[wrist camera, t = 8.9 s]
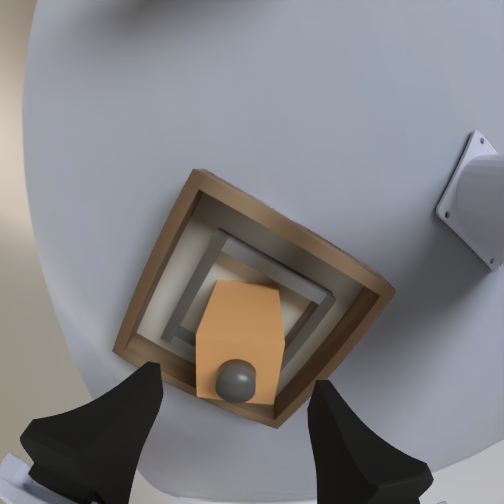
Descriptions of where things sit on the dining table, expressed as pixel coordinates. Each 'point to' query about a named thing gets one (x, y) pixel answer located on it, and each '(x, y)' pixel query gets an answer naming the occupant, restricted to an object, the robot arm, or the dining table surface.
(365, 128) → the dining table surface
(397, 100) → the dining table surface
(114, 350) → the walled box
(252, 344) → the tan tall block
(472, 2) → the dining table surface
